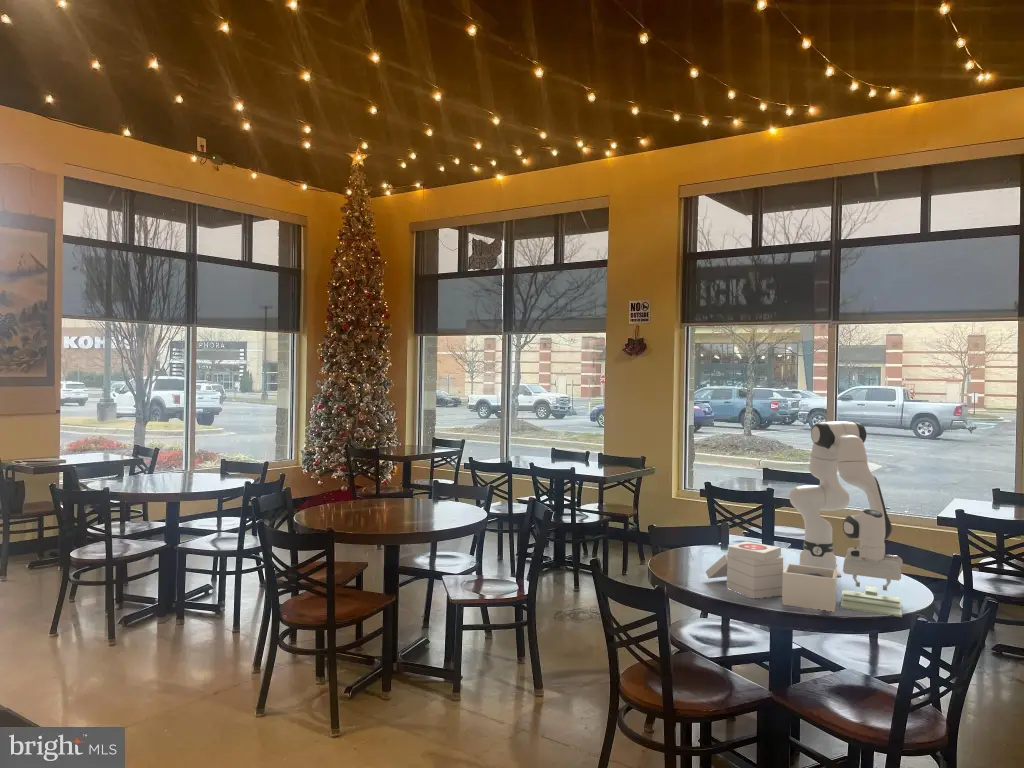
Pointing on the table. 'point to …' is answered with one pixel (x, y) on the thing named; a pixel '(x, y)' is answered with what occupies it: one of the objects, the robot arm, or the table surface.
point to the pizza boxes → (751, 569)
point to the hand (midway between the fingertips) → (871, 588)
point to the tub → (809, 587)
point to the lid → (871, 602)
